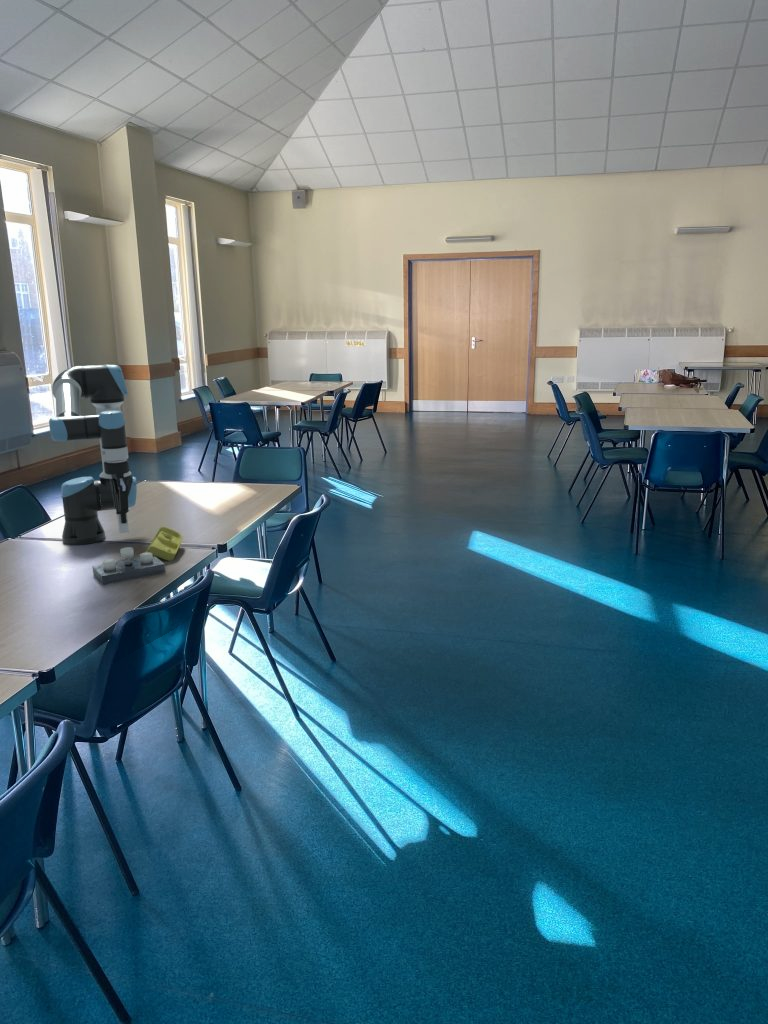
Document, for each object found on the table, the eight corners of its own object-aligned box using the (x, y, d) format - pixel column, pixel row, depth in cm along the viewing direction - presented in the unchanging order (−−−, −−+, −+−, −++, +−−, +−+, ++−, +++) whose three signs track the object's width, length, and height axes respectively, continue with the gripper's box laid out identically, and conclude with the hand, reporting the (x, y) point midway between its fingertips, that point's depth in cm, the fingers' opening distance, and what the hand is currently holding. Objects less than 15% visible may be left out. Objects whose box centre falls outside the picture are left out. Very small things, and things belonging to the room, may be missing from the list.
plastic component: (175, 555, 258) (147, 544, 256) (167, 573, 260) (139, 562, 258) (184, 534, 277) (158, 524, 275) (177, 551, 279) (151, 541, 277)
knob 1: (102, 576, 245) (100, 560, 243) (115, 573, 247) (113, 558, 245) (105, 579, 241) (104, 564, 240) (118, 577, 243) (116, 561, 242)
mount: (93, 574, 247) (92, 566, 246) (154, 563, 257) (153, 554, 257) (102, 585, 237) (101, 576, 236) (165, 572, 248) (164, 563, 247)
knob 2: (139, 568, 251) (138, 553, 250) (151, 566, 253) (150, 551, 252) (143, 572, 248) (141, 556, 246) (155, 569, 250) (153, 554, 248)
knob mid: (120, 564, 247) (118, 548, 246) (132, 561, 249) (131, 546, 248) (123, 567, 244) (122, 551, 242) (136, 564, 246) (134, 549, 245)
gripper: (98, 458, 241) (107, 529, 247) (109, 465, 230) (117, 539, 236) (122, 456, 245) (130, 525, 251) (133, 462, 234) (141, 534, 240)
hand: (124, 532), depth 243 cm, fingers closed
